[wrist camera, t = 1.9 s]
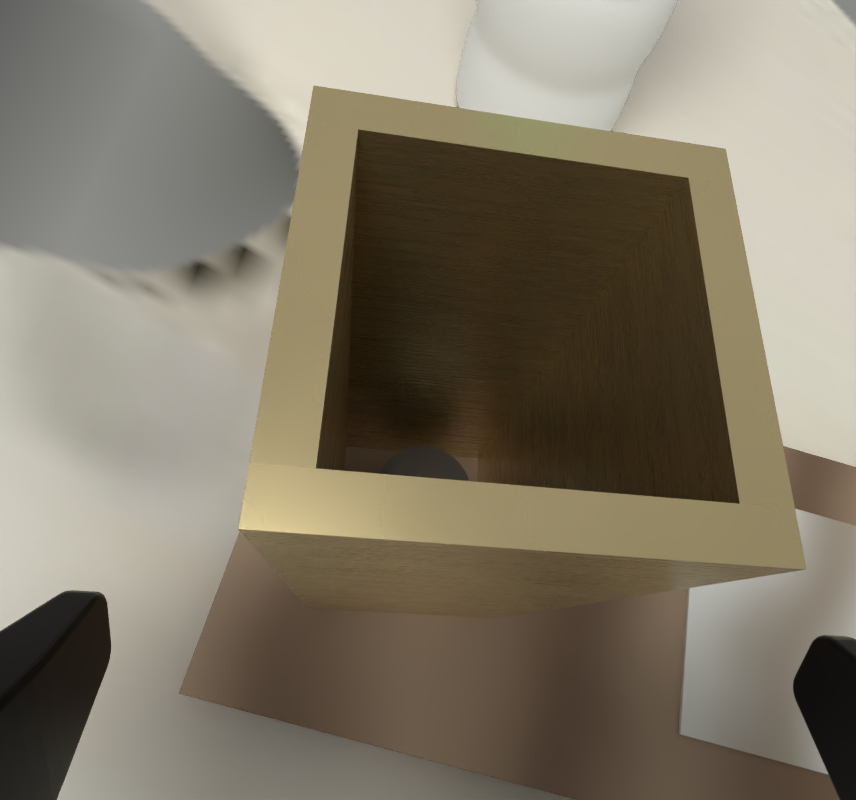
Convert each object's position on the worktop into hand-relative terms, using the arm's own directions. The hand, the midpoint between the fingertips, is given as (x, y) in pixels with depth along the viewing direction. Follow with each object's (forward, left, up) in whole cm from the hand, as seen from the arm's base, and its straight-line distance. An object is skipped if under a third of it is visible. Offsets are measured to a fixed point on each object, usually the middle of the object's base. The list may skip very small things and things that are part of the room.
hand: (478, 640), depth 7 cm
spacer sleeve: (+3, -2, -10) cm, 11 cm away
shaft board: (-2, -6, -11) cm, 13 cm away
